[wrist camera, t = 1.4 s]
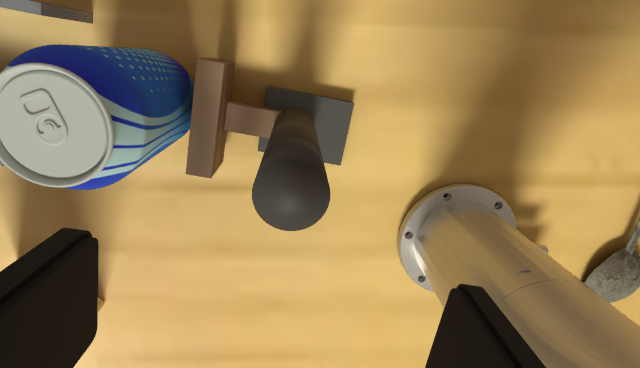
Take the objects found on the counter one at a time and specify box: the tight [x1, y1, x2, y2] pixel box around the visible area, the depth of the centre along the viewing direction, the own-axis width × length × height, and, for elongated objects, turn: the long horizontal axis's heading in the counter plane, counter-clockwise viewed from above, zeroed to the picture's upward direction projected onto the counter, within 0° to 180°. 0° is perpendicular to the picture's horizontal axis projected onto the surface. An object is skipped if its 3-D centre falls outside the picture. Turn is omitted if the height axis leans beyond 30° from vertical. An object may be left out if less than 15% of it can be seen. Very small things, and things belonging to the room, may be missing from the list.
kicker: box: [186, 58, 330, 231], centre depth 26 cm, size 10×9×19 cm
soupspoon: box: [584, 217, 640, 303], centre depth 41 cm, size 22×3×7 cm
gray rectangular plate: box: [258, 86, 354, 165], centre depth 36 cm, size 8×6×1 cm
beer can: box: [0, 45, 194, 190], centre depth 28 cm, size 8×8×16 cm
